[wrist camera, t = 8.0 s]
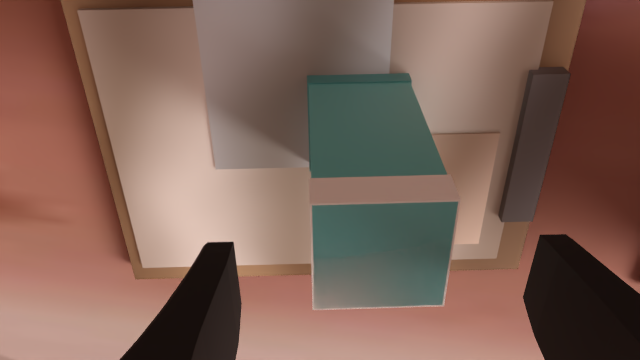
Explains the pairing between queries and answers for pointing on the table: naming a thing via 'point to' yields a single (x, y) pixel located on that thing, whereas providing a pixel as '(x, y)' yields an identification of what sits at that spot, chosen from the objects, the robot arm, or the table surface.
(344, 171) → the teal rimmed box
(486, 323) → the table surface
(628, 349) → the robot arm
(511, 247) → the clipboard
